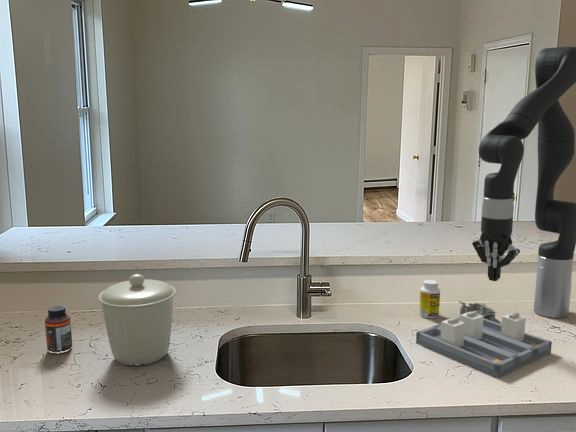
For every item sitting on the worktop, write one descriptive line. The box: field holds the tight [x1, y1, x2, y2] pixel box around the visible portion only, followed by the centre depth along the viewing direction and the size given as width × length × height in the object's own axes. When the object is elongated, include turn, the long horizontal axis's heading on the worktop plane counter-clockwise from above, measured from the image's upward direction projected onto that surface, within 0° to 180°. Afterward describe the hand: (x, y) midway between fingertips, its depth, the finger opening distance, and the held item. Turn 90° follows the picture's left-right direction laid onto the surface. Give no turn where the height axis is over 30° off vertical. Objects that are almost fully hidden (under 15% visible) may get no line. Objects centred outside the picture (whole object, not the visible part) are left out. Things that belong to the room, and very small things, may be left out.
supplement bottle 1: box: [44, 304, 73, 352], centre depth 145 cm, size 6×6×11 cm
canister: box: [97, 273, 177, 366], centre depth 140 cm, size 18×18×21 cm
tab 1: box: [440, 316, 465, 347], centre depth 144 cm, size 4×4×7 cm
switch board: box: [415, 316, 553, 379], centre depth 146 cm, size 22×24×3 cm
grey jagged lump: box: [458, 300, 498, 322], centre depth 166 cm, size 11×8×4 cm
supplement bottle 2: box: [418, 279, 441, 319], centre depth 168 cm, size 6×6×10 cm
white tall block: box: [459, 311, 484, 340], centre depth 148 cm, size 4×4×7 cm
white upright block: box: [501, 312, 526, 342], centre depth 147 cm, size 4×4×7 cm
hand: (493, 280), depth 150 cm, fingers closed
